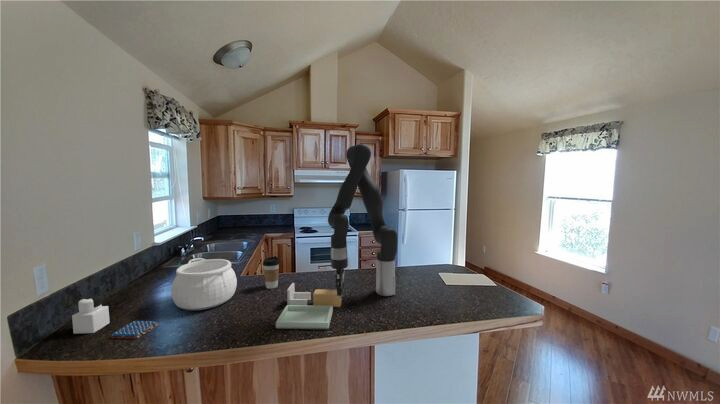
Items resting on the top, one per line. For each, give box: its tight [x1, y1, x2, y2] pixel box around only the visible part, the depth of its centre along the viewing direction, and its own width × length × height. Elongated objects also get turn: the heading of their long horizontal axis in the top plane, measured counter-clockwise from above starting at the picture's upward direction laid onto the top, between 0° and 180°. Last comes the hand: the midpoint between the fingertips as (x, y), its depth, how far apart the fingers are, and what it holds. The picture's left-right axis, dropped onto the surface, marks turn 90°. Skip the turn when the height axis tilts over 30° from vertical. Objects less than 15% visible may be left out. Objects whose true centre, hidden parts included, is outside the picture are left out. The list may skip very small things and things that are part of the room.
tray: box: [275, 304, 334, 330], centre depth 108 cm, size 20×14×2 cm
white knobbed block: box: [71, 295, 110, 335], centre depth 101 cm, size 7×7×12 cm
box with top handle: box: [312, 289, 343, 308], centre depth 122 cm, size 13×5×6 cm, turn 89°
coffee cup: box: [262, 256, 280, 290], centre depth 142 cm, size 8×8×15 cm
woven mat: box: [110, 320, 159, 340], centre depth 100 cm, size 10×11×2 cm
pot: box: [170, 257, 238, 311], centre depth 125 cm, size 29×26×17 cm
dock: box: [286, 282, 312, 305], centre depth 122 cm, size 9×8×8 cm
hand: (340, 291), depth 122 cm, fingers open, 8 cm apart
